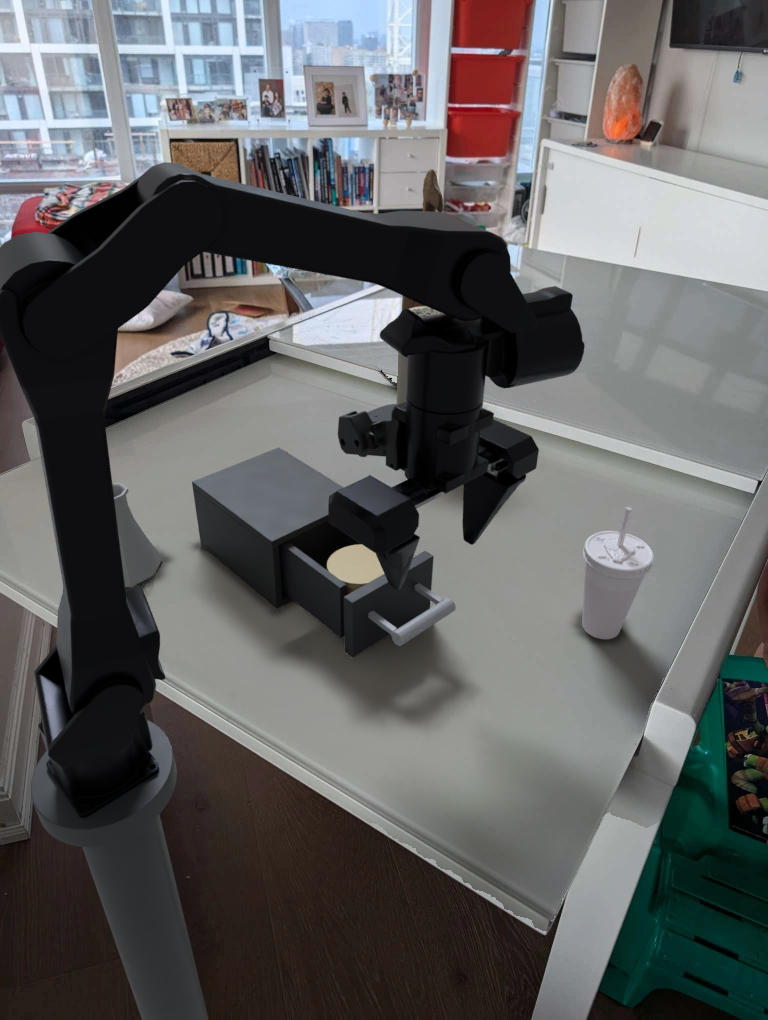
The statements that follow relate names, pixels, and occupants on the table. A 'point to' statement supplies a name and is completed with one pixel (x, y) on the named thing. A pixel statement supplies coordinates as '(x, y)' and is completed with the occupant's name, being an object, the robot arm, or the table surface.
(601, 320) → the table surface
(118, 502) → the flask
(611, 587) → the smoothie
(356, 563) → the beige short cylinder
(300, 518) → the mini filing cabinet
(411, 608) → the drawer
